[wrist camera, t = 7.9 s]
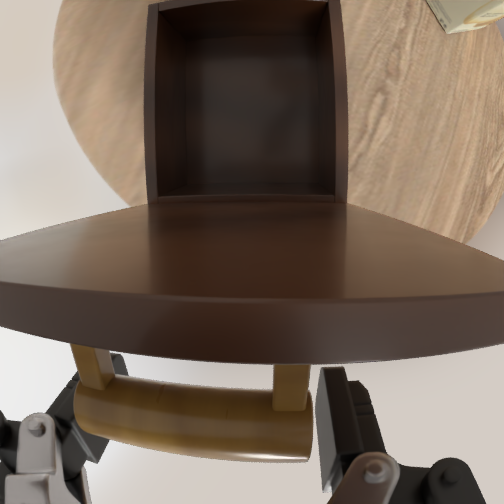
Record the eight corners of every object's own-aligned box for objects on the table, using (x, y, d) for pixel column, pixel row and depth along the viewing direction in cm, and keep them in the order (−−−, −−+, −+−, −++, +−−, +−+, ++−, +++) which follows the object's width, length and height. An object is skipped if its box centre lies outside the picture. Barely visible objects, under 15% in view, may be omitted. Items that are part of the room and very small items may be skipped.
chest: (180, 37, 22) (148, 4, 15) (323, 32, 21) (339, -7, 14) (181, 192, 27) (147, 209, 19) (326, 192, 26) (346, 208, 18)
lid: (-84, 268, 4) (-20, 433, 5) (559, 285, 3) (461, 492, 4) (144, 204, 19) (150, 280, 20) (348, 203, 18) (344, 283, 19)
